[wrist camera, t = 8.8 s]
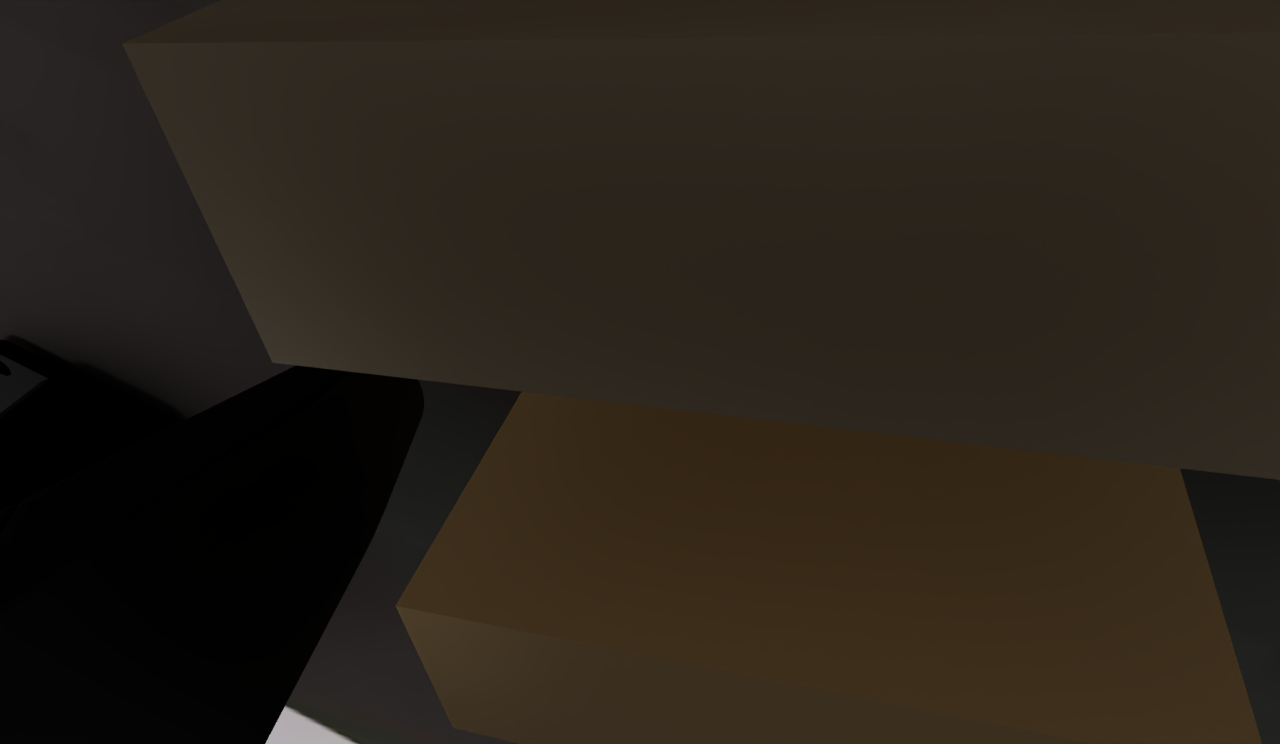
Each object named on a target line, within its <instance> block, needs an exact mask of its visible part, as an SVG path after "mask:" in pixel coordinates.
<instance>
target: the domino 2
mask: <svg viewBox="0 0 1280 744" xmlns="http://www.w3.org/2000/svg"><path fill="white" fill-rule="evenodd" d="M396 608H397V610H398V612H399V615H400V617H401V619H402V621H403V623H404V625H405V627H406V629H407V632H408V634H409V636H410V638H411V640H412V642H413V644H414V646H415V648H416V651H417V653H418V655H419V657H420V659H421V661H422V663H423V665H424V667H425V670H426V672H427V674H428V676H429V678H430V680H431V682H432V684H433V687H434V689H435V691H436V693H437V695H438V697H439V699H440V701H441V703H442V706H443V708H444V710H445V712H446V714H447V716H448V718H449V720H450V722H451V725H452V727H453V728H454V729H459V730H463V731H467V732H471V733H475V734H480V735H484V736H488V737H492V738H496V739H501V740H505V741H509V742H513V743H517V744H1262V742H1261V738H1260V735H1259V732H1258V728H1257V725H1256V722H1255V718H1254V715H1253V712H1252V708H1251V705H1250V702H1249V698H1248V695H1247V692H1246V688H1245V685H1244V681H1243V678H1242V675H1241V671H1240V668H1239V665H1238V661H1237V658H1236V655H1235V651H1234V648H1233V645H1232V641H1231V638H1230V635H1229V631H1228V628H1227V625H1226V621H1225V618H1224V615H1223V611H1222V608H1221V604H1220V601H1219V598H1218V594H1217V591H1216V588H1215V584H1214V581H1213V578H1212V574H1211V571H1210V568H1209V564H1208V561H1207V558H1206V554H1205V551H1204V548H1203V544H1202V541H1201V538H1200V534H1199V531H1198V527H1197V524H1196V521H1195V517H1194V514H1193V511H1192V507H1191V504H1190V501H1189V497H1188V494H1187V491H1186V487H1185V484H1184V481H1183V477H1182V474H1181V471H1180V468H1173V467H1164V466H1156V465H1147V464H1139V463H1130V462H1121V461H1113V460H1104V459H1096V458H1087V457H1078V456H1070V455H1061V454H1053V453H1044V452H1036V451H1027V450H1018V449H1010V448H1001V447H993V446H984V445H976V444H967V443H958V442H950V441H941V440H933V439H924V438H915V437H907V436H898V435H890V434H881V433H873V432H864V431H855V430H847V429H838V428H830V427H821V426H812V425H804V424H795V423H787V422H778V421H770V420H761V419H752V418H744V417H735V416H727V415H718V414H710V413H701V412H692V411H684V410H675V409H667V408H658V407H649V406H641V405H632V404H624V403H615V402H607V401H598V400H589V399H581V398H572V397H564V396H555V395H546V394H538V393H529V392H521V394H520V396H519V397H518V399H517V401H516V402H515V404H514V406H513V407H512V409H511V411H510V412H509V414H508V416H507V418H506V419H505V421H504V423H503V424H502V426H501V428H500V429H499V431H498V433H497V435H496V436H495V438H494V440H493V441H492V443H491V445H490V446H489V448H488V450H487V452H486V453H485V455H484V457H483V458H482V460H481V462H480V463H479V465H478V467H477V468H476V470H475V472H474V474H473V475H472V477H471V479H470V480H469V482H468V484H467V485H466V487H465V489H464V491H463V492H462V494H461V496H460V497H459V499H458V501H457V502H456V504H455V506H454V507H453V509H452V511H451V513H450V514H449V516H448V518H447V519H446V521H445V523H444V524H443V526H442V528H441V530H440V531H439V533H438V535H437V536H436V538H435V540H434V541H433V543H432V545H431V547H430V548H429V550H428V552H427V553H426V555H425V557H424V558H423V560H422V562H421V563H420V565H419V567H418V569H417V570H416V572H415V574H414V575H413V577H412V579H411V580H410V582H409V584H408V586H407V587H406V589H405V591H404V592H403V594H402V596H401V597H400V599H399V601H398V602H397V604H396Z"/></svg>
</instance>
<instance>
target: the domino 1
mask: <svg viewBox="0 0 1280 744" xmlns="http://www.w3.org/2000/svg"><path fill="white" fill-rule="evenodd" d="M122 45H123V47H124V49H125V51H126V53H127V56H128V58H129V60H130V62H131V64H132V66H133V68H134V70H135V73H136V75H137V77H138V79H139V81H140V83H141V85H142V87H143V89H144V92H145V94H146V96H147V98H148V100H149V102H150V104H151V106H152V108H153V111H154V113H155V115H156V117H157V119H158V121H159V123H160V125H161V128H162V130H163V132H164V134H165V136H166V138H167V140H168V142H169V144H170V147H171V149H172V151H173V153H174V155H175V157H176V159H177V161H178V164H179V166H180V168H181V170H182V172H183V174H184V176H185V178H186V180H187V183H188V185H189V187H190V189H191V191H192V193H193V195H194V197H195V199H196V202H197V204H198V206H199V208H200V210H201V212H202V214H203V216H204V219H205V221H206V223H207V225H208V227H209V229H210V231H211V233H212V235H213V238H214V240H215V242H216V244H217V246H218V248H219V250H220V252H221V255H222V257H223V259H224V261H225V263H226V265H227V267H228V269H229V271H230V274H231V276H232V278H233V280H234V282H235V284H236V286H237V288H238V290H239V293H240V295H241V297H242V299H243V301H244V303H245V305H246V307H247V310H248V312H249V314H250V316H251V318H252V320H253V322H254V324H255V326H256V329H257V331H258V333H259V335H260V337H261V339H262V341H263V343H264V345H265V348H266V350H267V352H268V354H269V356H270V358H271V360H272V362H273V363H280V364H289V365H298V366H306V367H315V368H323V369H332V370H341V371H349V372H358V373H366V374H375V375H383V376H392V377H401V378H409V379H418V380H426V381H435V382H444V383H452V384H461V385H469V386H478V387H486V388H495V389H504V390H512V391H521V392H529V393H538V394H546V395H555V396H564V397H572V398H581V399H589V400H598V401H607V402H615V403H624V404H632V405H641V406H649V407H658V408H667V409H675V410H684V411H692V412H701V413H710V414H718V415H727V416H735V417H744V418H752V419H761V420H770V421H778V422H787V423H795V424H804V425H812V426H821V427H830V428H838V429H847V430H855V431H864V432H873V433H881V434H890V435H898V436H907V437H915V438H924V439H933V440H941V441H950V442H958V443H967V444H976V445H984V446H993V447H1001V448H1010V449H1018V450H1027V451H1036V452H1044V453H1053V454H1061V455H1070V456H1078V457H1087V458H1096V459H1104V460H1113V461H1121V462H1130V463H1139V464H1147V465H1156V466H1164V467H1173V468H1181V469H1190V470H1199V471H1207V472H1216V473H1224V474H1233V475H1242V476H1250V477H1259V478H1267V479H1276V480H1280V0H220V1H217V2H215V3H213V4H211V5H208V6H206V7H204V8H202V9H199V10H197V11H195V12H192V13H190V14H188V15H186V16H183V17H181V18H179V19H177V20H174V21H172V22H170V23H168V24H165V25H163V26H161V27H158V28H156V29H154V30H152V31H149V32H147V33H145V34H143V35H140V36H138V37H136V38H134V39H131V40H129V41H127V42H124V43H122Z"/></svg>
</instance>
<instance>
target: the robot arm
mask: <svg viewBox="0 0 1280 744" xmlns="http://www.w3.org/2000/svg"><path fill="white" fill-rule="evenodd" d="M423 409H424V397H423V392H422V389H421V386H420V383H419V380H418V379H409V378H401V377H392V376H383V375H375V374H366V373H358V372H349V371H341V370H332V369H323V368H315V367H306V366H298V365H296V366H294V367H292V368H290V369H288V370H286V371H284V372H282V373H280V374H278V375H276V376H274V377H272V378H270V379H268V380H266V381H264V382H262V383H260V384H258V385H256V386H254V387H252V388H250V389H248V390H245V391H243V392H241V393H239V394H237V395H235V396H233V397H231V398H229V399H227V400H225V401H223V402H221V403H219V404H217V405H215V406H213V407H211V408H209V409H207V410H205V411H203V412H201V413H199V414H197V415H195V416H193V417H191V418H189V419H187V420H185V421H183V422H181V423H179V424H177V425H175V424H173V423H171V422H169V421H167V420H165V419H163V418H161V417H159V416H157V415H155V414H153V413H151V412H149V411H148V410H146V409H144V408H142V407H140V406H138V405H136V404H134V403H132V402H130V401H128V400H126V399H124V398H122V397H120V396H118V395H116V394H114V393H112V392H110V391H108V390H106V389H104V388H102V387H100V386H98V385H96V384H94V383H92V382H90V381H88V380H86V379H84V378H82V377H80V376H78V375H76V374H74V373H72V372H70V371H68V370H66V369H64V368H62V367H60V366H58V365H56V364H54V363H52V362H50V361H48V360H46V359H44V358H42V357H40V356H38V355H36V354H34V353H32V352H30V351H28V350H26V349H24V348H22V347H20V346H18V345H16V344H14V343H12V342H9V341H6V340H0V744H265V743H266V741H267V739H268V737H269V735H270V733H271V731H272V730H273V728H274V726H275V724H276V722H277V720H278V718H279V716H280V714H281V712H282V710H283V709H284V707H285V705H286V703H287V701H288V699H289V697H290V695H291V693H292V691H293V690H294V688H295V686H296V684H297V682H298V680H299V678H300V676H301V674H302V672H303V671H304V669H305V667H306V665H307V663H308V661H309V659H310V657H311V655H312V653H313V651H314V650H315V648H316V646H317V644H318V642H319V640H320V638H321V636H322V634H323V632H324V631H325V629H326V627H327V625H328V623H329V621H330V619H331V617H332V615H333V613H334V611H335V610H336V608H337V606H338V604H339V602H340V600H341V598H342V596H343V594H344V592H345V591H346V589H347V587H348V585H349V583H350V581H351V579H352V577H353V575H354V573H355V571H356V570H357V568H358V566H359V564H360V562H361V560H362V558H363V556H364V554H365V552H366V550H367V548H368V546H369V544H370V542H371V540H372V538H373V536H374V534H375V532H376V529H377V527H378V525H379V523H380V520H381V518H382V516H383V513H384V511H385V508H386V506H387V503H388V501H389V498H390V496H391V493H392V491H393V488H394V486H395V483H396V481H397V478H398V476H399V473H400V471H401V468H402V466H403V463H404V460H405V458H406V455H407V453H408V450H409V448H410V445H411V443H412V440H413V438H414V435H415V433H416V430H417V428H418V425H419V423H420V420H421V417H422V414H423Z"/></svg>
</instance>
